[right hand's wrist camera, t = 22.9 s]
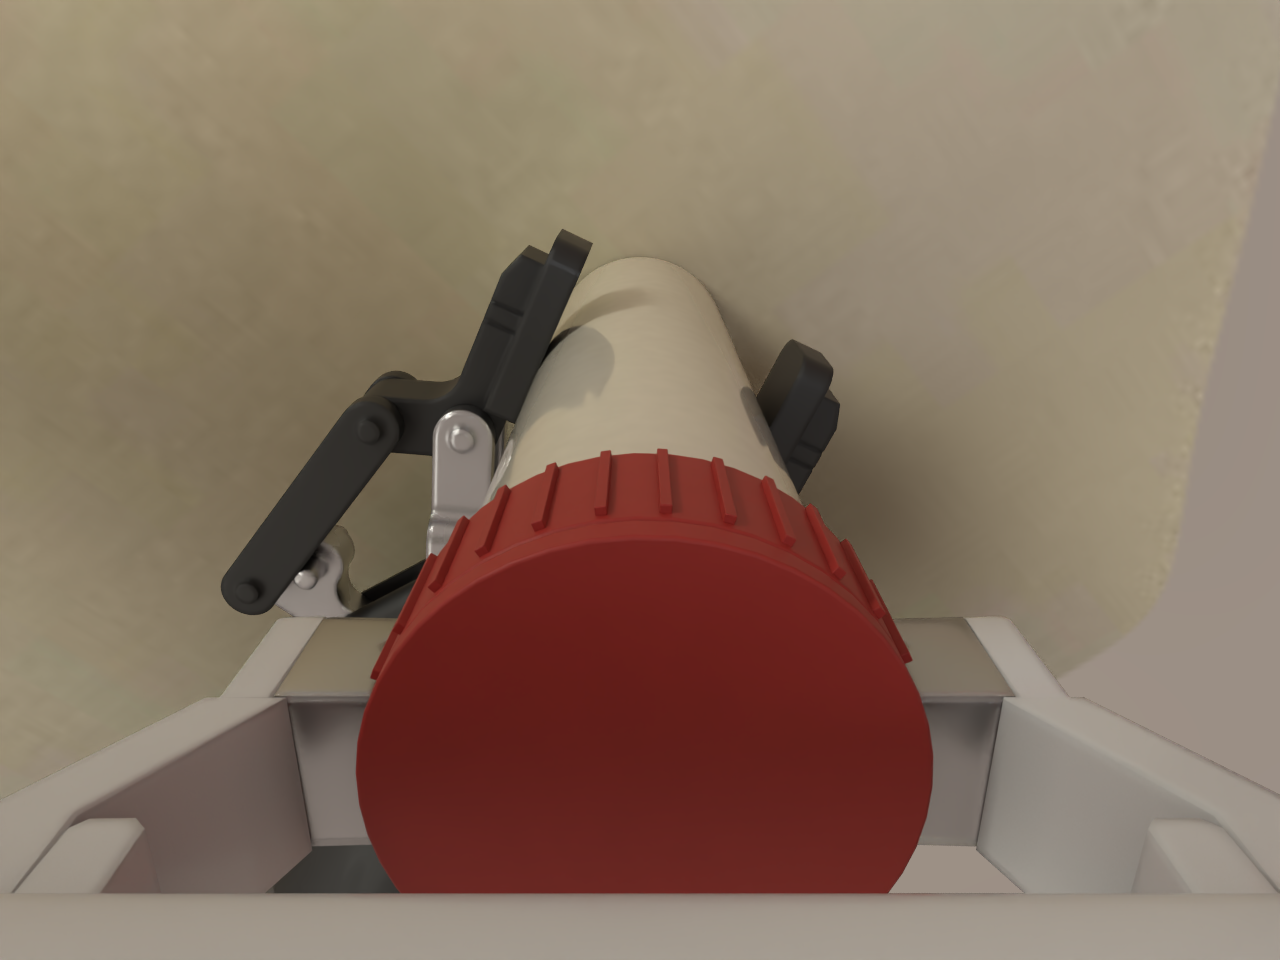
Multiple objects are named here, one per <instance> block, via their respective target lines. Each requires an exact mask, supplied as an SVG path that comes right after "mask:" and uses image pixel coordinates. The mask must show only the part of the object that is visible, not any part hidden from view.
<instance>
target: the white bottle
mask: <svg viewBox="0 0 1280 960" xmlns="http://www.w3.org/2000/svg"><path fill="white" fill-rule="evenodd" d="M658 448H659V449H668V454H672V455H679V456H686V457H692V458H699V459H704V460H707V461H711V462H712V459H713V457H717V458H721V459H723V461H724V465H725V466H729V467H732V468H735V469H738V470H740V471H742V472H745V473H747V474H749V475H752V476H754V477H756V478H759V479H761V480H763V478H764V476H768V477H770V478H772V479H774V482H775V484H776V487H777V489H779V490H781V491H782V492H784V493H786V494H788V495H789V496H791V497H793V498H794V499H795V500H796V501H798V502H799V503H800V504H801V505H802V502H801V500H800V498H799V496H798V493H797V491H796V489H795V486H794V484H793V482H792V479H791V477H790V475H789V472H788V470H787V468H786V465H785V463H784V461H783V458H782V456H781V454H780V451H779V449H778V447H777V445H776V442H775V440H774V438H773V435H772V433H771V431H770V428H769V426H768V424H767V421H766V419H765V417H764V414H763V412H762V410H761V407H760V405H759V403H758V400H757V398H756V396H755V394H754V391H753V389H752V387H751V384H750V382H749V380H748V377H747V375H746V373H745V370H744V368H743V366H742V363H741V361H740V359H739V356H738V354H737V352H736V349H735V347H734V345H733V343H732V340H731V338H730V336H729V333H728V331H727V329H726V326H725V324H724V322H723V319H722V317H721V315H720V312H719V310H718V308H717V306H716V303H715V301H714V300H713V298H712V296H711V295H710V293H709V292H708V290H707V289H706V288H705V287H704V286H703V284H702V283H701V282H700V281H699V280H698V279H696V278H695V277H694V276H693V275H692V274H690V273H689V272H687V271H686V270H685V269H683V268H681V267H679V266H677V265H675V264H673V263H670V262H667V261H665V260H660V259H656V258H649V257H630V258H625V259H619V260H616V261H613V262H610V263H607V264H605V265H603V266H601V267H599V268H597V269H596V270H594V271H593V272H591V273H590V274H588V275H587V276H586V277H585V278H584V279H583V280H581V281H580V282H579V283H578V285H577V286H576V287H575V288H574V289H573V291H572V294H571V296H570V298H569V300H568V303H567V305H566V307H565V310H564V312H563V314H562V317H561V319H560V321H559V323H558V326H557V328H556V330H555V333H554V335H553V337H552V339H551V342H550V344H549V346H548V349H547V351H546V353H545V356H544V358H543V360H542V362H541V365H540V367H539V369H538V371H537V373H536V375H535V377H534V380H533V382H532V384H531V386H530V389H529V391H528V393H527V396H526V398H525V401H524V403H523V406H522V408H521V411H520V413H519V415H518V418H517V420H516V423H515V425H514V428H513V430H512V433H511V435H510V438H509V440H508V442H507V445H506V447H505V450H504V452H503V455H502V457H501V460H500V462H499V465H498V467H497V469H496V472H495V474H494V477H493V479H492V482H491V484H490V487H489V489H488V492H487V494H486V496H485V499H484V501H483V504H482V506H481V508H482V507H483V506H485V505H486V504H488V503H489V502H491V501H492V500H493V499H494V498H495V495H496V493H497V490H498V489H499V488H500V487H502V486H504V485H507V486H508V488H509V489H510V488H512V487H514V486H516V485H518V484H520V483H522V482H524V481H526V480H527V479H529V478H531V477H533V476H535V475H538V474H540V473H543V472H545V469H546V466H547V465H549V464H552V463H554V462H556V463H557V466H558V467H560V466H563V465H565V464H568V463H573V462H577V461H582V460H586V459H591V458H595V457H600V453H601V451H607V450H611V453H612V455H619V454H630V453H652V454H657V449H658Z"/></svg>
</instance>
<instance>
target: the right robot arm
mask: <svg viewBox="0 0 1280 960" xmlns="http://www.w3.org/2000/svg"><path fill="white" fill-rule="evenodd" d="M397 619H398V618H353V617H329V618H327V617H325V616H312V617H284V618H280V619H278V620H277V621H276V622H275V623H274V624H273V626H272V627H271V628H270V630H269V631H268V632H267V634H266V635H265V636H264V638H263V639H262V640H261V642H260V643H259V644H258V646H257V647H256V649H255V650H254V651H253V653H252V654H251V655H250V657H249V658H248V659H247V661H246V662H245V663H244V665H243V666H242V667H241V669H240V670H239V671H238V673H237V674H236V676H235V677H234V678H233V680H232V681H231V682H230V684H229V685H228V686H227V688H226V689H225V690H224V692H223V693H222V694H221V696H220V697H205V698H203V699H201V700H199V701H197V702H195V703H193V704H191V705H189V706H187V707H185V708H183V709H181V710H179V711H177V712H175V713H173V714H171V715H169V716H167V717H165V718H163V719H161V720H159V721H157V722H155V723H153V724H151V725H149V726H147V727H145V728H143V729H141V730H139V731H137V732H135V733H133V734H131V735H129V736H127V737H125V738H123V739H121V740H119V741H117V742H115V743H113V744H111V745H109V746H107V747H105V748H103V749H101V750H99V751H97V752H95V753H93V754H91V755H89V756H87V757H85V758H83V759H81V760H79V761H77V762H75V763H73V764H71V765H69V766H67V767H65V768H63V769H61V770H59V771H57V772H55V773H53V774H51V775H49V776H47V777H45V778H43V779H41V780H39V781H37V782H35V783H33V784H31V785H29V786H27V787H25V788H23V789H21V790H19V791H17V792H15V793H13V794H11V795H9V796H7V797H5V798H3V799H1V800H0V960H1280V794H1278V793H1276V792H1274V791H1271V790H1270V789H1267V788H1265V787H1263V786H1261V785H1259V784H1257V783H1255V782H1253V781H1251V780H1249V779H1247V778H1245V777H1243V776H1241V775H1239V774H1237V773H1235V772H1233V771H1231V770H1229V769H1227V768H1225V767H1223V766H1221V765H1219V764H1217V763H1215V762H1213V761H1211V760H1209V759H1207V758H1205V757H1203V756H1201V755H1199V754H1197V753H1195V752H1193V751H1191V750H1189V749H1187V748H1185V747H1183V746H1181V745H1179V744H1177V743H1175V742H1173V741H1171V740H1169V739H1167V738H1165V737H1163V736H1161V735H1159V734H1157V733H1155V732H1153V731H1151V730H1149V729H1147V728H1145V727H1143V726H1141V725H1139V724H1137V723H1135V722H1133V721H1131V720H1129V719H1126V718H1125V717H1122V716H1121V715H1118V714H1116V713H1114V712H1112V711H1110V710H1108V709H1106V708H1104V707H1102V706H1100V705H1098V704H1096V703H1094V702H1092V701H1090V700H1088V699H1086V698H1084V697H1069V696H1068V694H1067V693H1066V692H1065V690H1064V689H1063V688H1062V686H1061V685H1060V684H1059V682H1058V681H1057V680H1056V678H1055V677H1054V676H1053V675H1052V673H1051V672H1050V671H1049V669H1048V668H1047V667H1046V665H1045V664H1044V663H1043V661H1042V660H1041V659H1040V657H1039V656H1038V655H1037V653H1036V652H1035V651H1034V650H1033V648H1032V647H1031V646H1030V644H1029V643H1028V642H1027V640H1026V639H1025V638H1024V636H1023V635H1022V634H1021V632H1020V631H1019V630H1018V629H1017V627H1016V626H1015V625H1014V623H1013V622H1012V621H1011V620H1010V619H1008V618H1006V617H1003V616H990V617H966V618H963V617H954V618H913V619H893V621H894V623H895V625H896V627H897V629H898V631H899V633H900V635H901V637H902V639H903V641H904V643H905V645H906V647H907V649H908V650H909V652H910V655H911V657H912V659H913V661H911V662H909V663H906V664H905V665H906V667H907V669H908V672H909V673H910V675H911V677H912V680H913V682H914V684H915V686H916V688H917V690H918V692H919V694H920V697H921V700H922V703H923V707H924V710H925V713H926V716H927V719H928V722H929V728H930V735H931V741H932V748H933V787H932V793H931V798H930V803H929V809H928V814H927V819H926V821H925V824H924V827H923V830H922V833H921V836H920V838H919V841H918V844H917V845H947V846H977V848H976V850H977V851H978V852H979V853H980V854H981V855H982V856H983V857H985V858H986V859H987V860H988V861H989V862H990V863H991V864H992V865H994V866H995V867H996V868H997V869H998V870H999V871H1000V872H1001V873H1003V874H1004V875H1005V876H1006V877H1007V878H1008V879H1009V880H1010V881H1012V882H1013V883H1014V884H1015V885H1016V886H1017V887H1018V888H1019V889H1020V890H1022V891H1023V892H1024V893H266V892H267V891H268V890H269V889H270V888H271V887H272V886H273V885H275V884H276V883H277V882H278V881H279V880H280V879H281V878H282V877H283V876H285V875H286V874H287V873H288V872H289V871H290V870H291V869H292V868H293V867H295V866H296V865H297V864H298V863H299V862H300V861H301V860H302V859H303V858H305V857H306V856H307V855H308V854H309V853H310V852H311V851H312V846H341V845H372V844H371V842H370V839H369V837H368V835H367V832H366V828H365V824H364V821H363V817H362V813H361V810H360V806H359V799H358V790H357V781H356V756H357V741H358V736H359V732H360V727H361V723H362V718H363V714H364V710H365V707H366V705H367V703H368V700H369V698H370V695H371V693H372V690H373V688H374V685H375V683H376V680H374V679H371V678H370V676H371V673H372V670H373V668H374V666H375V664H376V662H377V660H378V658H379V655H380V653H381V651H382V649H383V647H384V645H385V643H386V641H387V639H388V637H389V635H390V633H391V631H392V629H393V627H394V625H395V623H396V621H397Z"/></svg>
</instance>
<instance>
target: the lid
mask: <svg viewBox="0 0 1280 960" xmlns="http://www.w3.org/2000/svg"><path fill="white" fill-rule="evenodd" d="M911 661H913V659H912V657H911V655H910V652H909V650H908V649H907V647H906V645H905V643H904V641H903V639H902V637H901V635H900V633H899V631H898V629H897V627H896V625H895V623H894V621H893V619H892V617H891V615H890V613H889V611H888V609H887V607H886V605H885V604H884V602H883V600H882V598H881V596H880V594H879V592H878V590H877V588H876V586H875V584H874V582H873V580H872V579H871V580H869V579H868V577H867V575H866V573H865V571H864V569H863V567H862V565H861V563H860V561H859V559H858V557H857V555H856V553H855V551H854V549H853V547H852V545H851V544H850V542H849V541H848V540H847V539H845V540H843V541H842V542H840V541H839V540H838V538H837V537H836V536H835V535H834V534H833V533H832V532H831V531H830V530H829V529H828V528H827V527H826V526H825V525H824V522H823V520H822V518H821V516H820V514H819V512H818V509H817V508H816V507H815V506H813V505H812V504H809V505H808V506H807V507H806V508H805V507H804V506H803V505H801V504H800V503H799V502H798V501H796V500H795V499H794V498H793V497H791V496H789V495H788V494H786V493H784V492H782V491H781V490H779V489H777V487H776V484H775V482H774V479H772V478H770V477H768V476H764V478H763V480H761V479H759V478H756V477H754V476H752V475H749V474H747V473H745V472H742V471H740V470H738V469H735V468H732V467H729V466H725V465H724V461H723V459H721V458H717V457H713V459H712V462H711V461H707V460H704V459H699V458H692V457H686V456H679V455H672V454H668V449H659V448H658V449H657V454H652V453H630V454H619V455H612V453H611V450H607V451H601V453H600V457H595V458H591V459H586V460H582V461H577V462H573V463H568V464H565V465H563V466H560V467H558V466H557V463H556V462H554V463H552V464H549V465H547V466H546V469H545V472H543V473H540V474H538V475H535V476H533V477H531V478H529V479H527V480H526V481H524V482H522V483H520V484H518V485H516V486H514V487H512V488H510V489H509V488H508V486H507V485H504V486H502V487H500V488H499V489H498V490H497V493H496V495H495V498H494V499H493V500H492V501H491V502H489V503H488V504H486V505H485V506H483V507H482V508H481V509H480V510H479V511H477V512H476V513H475V514H474V515H473V516H472V517H471V518H470V519H468V518H466V517H465V516H464V515H463V516H462V517H461V518H460V519H459V520H458V521H457V523H456V525H455V527H454V530H453V532H452V534H451V536H450V538H449V541H448V543H447V544H446V545H445V546H444V548H443V549H442V550H441V551H440V553H439V554H438V556H436V555H434V554H433V553H430V555H429V556H428V558H427V559H426V561H425V563H424V565H423V568H422V570H421V572H420V574H419V576H418V578H417V580H416V582H415V584H414V586H413V588H412V590H411V592H410V594H409V596H408V598H407V600H406V602H405V604H404V606H403V608H402V610H401V612H400V614H399V616H398V619H397V621H396V623H395V625H394V627H393V629H392V631H391V633H390V635H389V637H388V639H387V641H386V643H385V645H384V647H383V649H382V651H381V653H380V655H379V658H378V660H377V662H376V664H375V666H374V668H373V670H372V673H371V676H370V678H371V679H374V680H376V683H375V685H374V688H373V690H372V693H371V695H370V698H369V700H368V703H367V705H366V707H365V710H364V714H363V718H362V723H361V727H360V732H359V736H358V741H357V756H356V781H357V790H358V799H359V806H360V810H361V813H362V817H363V821H364V824H365V828H366V832H367V835H368V837H369V839H370V842H371V844H372V846H373V848H374V851H375V853H376V855H377V857H378V860H379V862H380V863H381V865H382V867H383V868H384V870H385V871H386V873H387V874H388V876H389V878H390V879H391V881H392V882H393V884H394V886H395V887H396V888H397V890H398V891H399V892H400V893H889V891H890V890H891V888H892V887H893V886H894V884H895V883H896V881H897V880H898V879H899V877H900V876H901V875H902V873H903V871H904V869H905V867H906V866H907V864H908V862H909V860H910V858H911V856H912V854H913V852H914V850H915V849H916V847H917V844H918V841H919V838H920V836H921V833H922V830H923V827H924V824H925V821H926V819H927V814H928V809H929V803H930V798H931V793H932V787H933V748H932V741H931V735H930V728H929V722H928V719H927V716H926V713H925V710H924V707H923V703H922V700H921V697H920V694H919V692H918V690H917V688H916V686H915V684H914V682H913V680H912V677H911V675H910V673H909V672H908V669H907V667H906V665H905V664H906V663H909V662H911Z"/></svg>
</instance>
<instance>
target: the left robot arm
mask: <svg viewBox="0 0 1280 960" xmlns="http://www.w3.org/2000/svg"><path fill="white" fill-rule="evenodd" d="M592 244H593V243H591V242H589V241H587V240H585V239H583V238H580V237H578V236H576V235H574V234H572V233H570V232H568V231H566V230H564V229H562V230H561V232H560V233H559V235H558V236H557V238H556V240H555V242H554V244H553V246H552V248H551V251H550V253H549V254H547V253H545V252H543V251H541V250H539V249H536V248H534V247H532V246H530V245H529V246H528V247H527V248H526V249H525V250H524V251H523V252H522V253H521V254H520V255H519V256H518V257H517V258H516V259H515V260H514V261H513V262H512V263H511V264H510V265H509V266H508V267H507V269H506V270H505V271H504V272H503V273H502V274H501V277H500V279H499V282H498V284H497V287H496V289H495V292H494V294H493V297H492V300H491V302H490V304H489V307H488V309H487V312H486V314H485V317H484V320H483V322H482V324H481V326H480V329H479V331H478V334H477V336H476V339H475V341H474V344H473V346H472V349H471V351H470V354H469V356H468V359H467V361H466V364H465V366H464V369H463V371H462V374H461V375H460V376H459V377H457V378H455V379H453V380H450V381H446V382H432V381H420V380H417V379H415V378H414V377H413V376H411V375H410V374H408V373H405V372H401V371H391V372H387V373H385V374H383V375H382V376H380V377H379V378H378V379H377V380H376V381H375V382H374V383H373V384H372V385H371V386H370V388H369V389H368V390H367V392H366V393H365V395H364V396H363V397H362V398H359V399H357V400H356V401H355V402H354V403H353V404H352V405H351V406H349V407H348V408H347V410H346V411H345V412H344V413H343V414H342V416H341V417H340V418H339V420H338V421H337V423H336V424H335V425H334V427H333V428H332V429H331V431H330V432H329V433H328V435H327V436H326V438H325V439H324V440H323V442H322V443H321V444H320V446H319V447H318V448H317V450H316V451H315V453H314V454H313V455H312V457H311V458H310V459H309V461H308V462H307V463H306V465H305V466H304V468H303V469H302V470H301V472H300V473H299V474H298V476H297V477H296V479H295V480H294V481H293V483H292V484H291V485H290V487H289V488H288V489H287V491H286V492H285V494H284V495H283V496H282V498H281V499H280V500H279V502H278V503H277V504H276V506H275V507H274V509H273V510H272V511H271V513H270V514H269V515H268V517H267V518H266V519H265V521H264V522H263V524H262V525H261V526H260V528H259V529H258V530H257V532H256V533H255V534H254V536H253V537H252V539H251V540H250V541H249V543H248V544H247V545H246V547H245V548H244V550H243V551H242V552H241V554H240V555H239V556H238V558H237V559H236V560H235V562H234V563H233V565H232V566H231V567H230V569H229V570H228V571H227V573H226V574H225V575H224V577H223V579H222V582H221V591H222V595H223V597H224V599H225V600H226V602H227V603H228V604H229V605H230V606H231V607H232V608H233V609H235V610H237V611H239V612H241V613H244V614H248V615H259V614H263V613H265V612H267V611H268V610H270V609H271V608H272V607H273V606H274V604H275V605H276V606H278V607H280V608H281V609H283V610H284V611H286V612H287V613H289V614H290V615H292V616H294V617H312V616H325V617H327V618H329V617H353V618H398V616H399V614H400V612H401V610H402V608H403V606H404V604H405V602H406V600H407V598H408V596H409V594H410V592H411V590H412V588H413V586H414V584H415V582H416V580H417V578H418V576H419V574H420V572H421V570H422V568H423V565H424V563H425V561H426V559H427V558H428V556H429V555H430V553H433V554H434V555H436V556H438V554H439V553H440V551H441V550H442V549H443V548H444V546H445V545H446V544H447V543H448V541H449V538H450V536H451V534H452V532H453V530H454V527H455V525H456V523H457V521H458V520H459V519H460V518H461V517H462V516H463V515H464V516H465V517H466V518H468V519H470V518H471V517H472V516H473V515H474V514H475V513H476V512H477V511H479V510H480V509H481V506H482V504H483V501H484V499H485V496H486V494H487V492H488V489H489V487H490V484H491V482H492V479H493V477H494V474H495V472H496V469H497V467H498V465H499V462H500V460H501V457H502V455H503V452H504V450H505V447H506V442H507V421H509V422H512V423H514V424H515V422H516V420H517V418H518V415H519V413H520V411H521V408H522V406H523V403H524V401H525V398H526V396H527V393H528V391H529V389H530V386H531V384H532V382H533V380H534V377H535V375H536V373H537V371H538V369H539V367H540V365H541V362H542V360H543V358H544V356H545V353H546V351H547V349H548V346H549V344H550V342H551V339H552V337H553V335H554V333H555V330H556V328H557V326H558V323H559V321H560V319H561V317H562V314H563V312H564V310H565V307H566V305H567V303H568V300H569V298H570V296H571V294H572V291H573V289H574V287H575V284H576V282H577V280H578V277H579V275H580V273H581V271H582V268H583V266H584V264H585V261H586V259H587V257H588V254H589V252H590V249H591V247H592ZM832 377H833V368H832V366H831V365H830V364H829V362H828V361H827V360H826V359H825V357H824V356H823V355H822V354H821V353H820V352H818V351H816V350H814V349H812V348H810V347H808V346H806V345H803V344H801V343H799V342H797V341H795V340H793V339H792V340H790V341H789V342H788V343H787V344H786V345H785V346H784V348H783V349H782V351H781V353H780V354H779V356H778V358H777V360H776V362H775V364H774V366H773V368H772V369H771V371H770V373H769V375H768V377H767V379H766V381H765V382H764V384H763V386H762V388H761V390H760V392H759V394H758V395H757V397H756V398H757V400H758V403H759V405H760V407H761V410H762V412H763V414H764V417H765V419H766V421H767V424H768V426H769V428H770V431H771V433H772V435H773V438H774V440H775V442H776V445H777V447H778V449H779V451H780V454H781V456H782V458H783V461H784V463H785V465H786V468H787V470H788V472H789V475H790V477H791V479H792V482H793V484H794V486H795V489H796V491H797V493H798V495H799V493H800V491H801V490H802V488H803V486H804V484H805V483H806V481H807V479H808V477H809V476H810V474H811V472H812V469H813V468H814V467H815V465H816V464H817V462H818V460H819V458H820V457H821V454H822V452H823V451H824V450H825V448H826V446H827V445H828V443H829V441H830V439H831V438H832V436H833V434H834V432H835V431H836V429H837V422H838V415H839V408H840V404H839V402H838V401H837V399H836V398H835V397H834V395H833V394H832V392H831V391H830V390H829V386H830V384H831V381H832ZM391 452H392V453H405V454H417V455H429V456H433V460H432V510H431V517H430V521H429V525H428V531H427V540H426V559H424V560H422V561H420V562H419V563H417V564H415V565H413V566H411V567H409V568H407V569H405V570H403V571H401V572H399V573H398V574H396V575H394V576H392V577H390V578H388V579H386V580H384V581H382V582H380V583H378V584H377V585H375V586H373V587H371V588H369V589H367V590H365V591H363V592H362V593H360V592H358V591H357V590H356V589H355V588H354V587H353V585H352V584H351V582H350V580H349V576H348V568H349V565H350V563H351V561H352V559H353V556H354V551H355V550H354V544H353V541H352V539H351V538H350V536H349V535H348V532H347V530H346V529H345V528H344V527H342V526H339V525H336V523H337V522H338V521H339V519H340V518H341V517H342V515H343V514H344V513H345V512H346V510H347V509H348V508H349V506H350V505H351V504H352V502H353V501H354V500H355V498H356V497H357V496H358V495H359V493H360V492H361V491H362V489H363V488H364V487H365V485H366V484H367V483H368V482H369V480H370V479H371V478H372V476H373V475H374V474H375V472H376V471H377V470H378V468H379V467H380V466H381V465H382V463H383V462H384V461H385V459H386V458H387V457H388V455H389V454H390V453H391ZM266 893H400V892H399V891H398V890H397V888H396V887H395V886H394V884H393V882H392V881H391V879H390V878H389V876H388V874H387V873H386V871H385V870H384V868H383V867H382V865H381V863H380V862H379V860H378V857H377V855H376V853H375V851H374V848H373V846H372V845H341V846H312V851H311V852H310V853H309V854H308V855H307V856H306V857H305V858H303V859H302V860H301V861H300V862H299V863H298V864H297V865H296V866H295V867H293V868H292V869H291V870H290V871H289V872H288V873H287V874H286V875H285V876H283V877H282V878H281V879H280V880H279V881H278V882H277V883H276V884H275V885H273V886H272V887H271V888H270V889H269V890H268V891H267V892H266Z"/></svg>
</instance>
